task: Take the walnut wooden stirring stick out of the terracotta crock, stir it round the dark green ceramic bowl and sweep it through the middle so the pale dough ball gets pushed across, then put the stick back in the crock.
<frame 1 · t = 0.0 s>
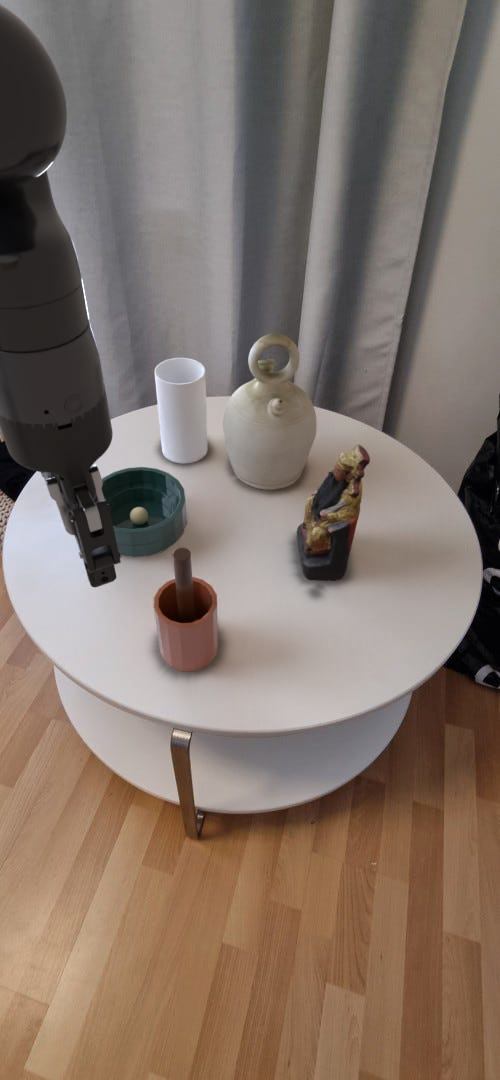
hand: (88, 547, 52), 28 cm above the table, tool pointing down, fingers open, 8 cm apart
crock: (189, 646, 78), on the table
dough ball: (139, 516, 91), point 2 cm above the table, touching bowl
cup: (184, 450, 107), on the table
statue: (321, 562, 89), on the table
bowl: (140, 525, 93), on the table
stick: (189, 644, 78), resting on crock
jug: (266, 468, 104), on the table
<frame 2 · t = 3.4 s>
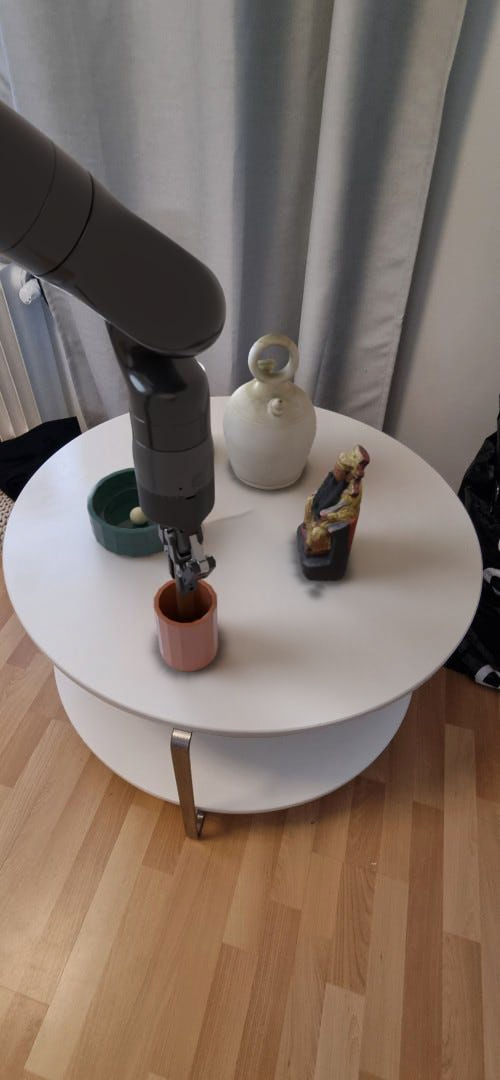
hand: (184, 582, 68), 14 cm above the table, tool pointing down, fingers closed on stick, 2 cm apart
stick: (188, 644, 78), point 1 cm above the table, touching gripper
everything else where it was.
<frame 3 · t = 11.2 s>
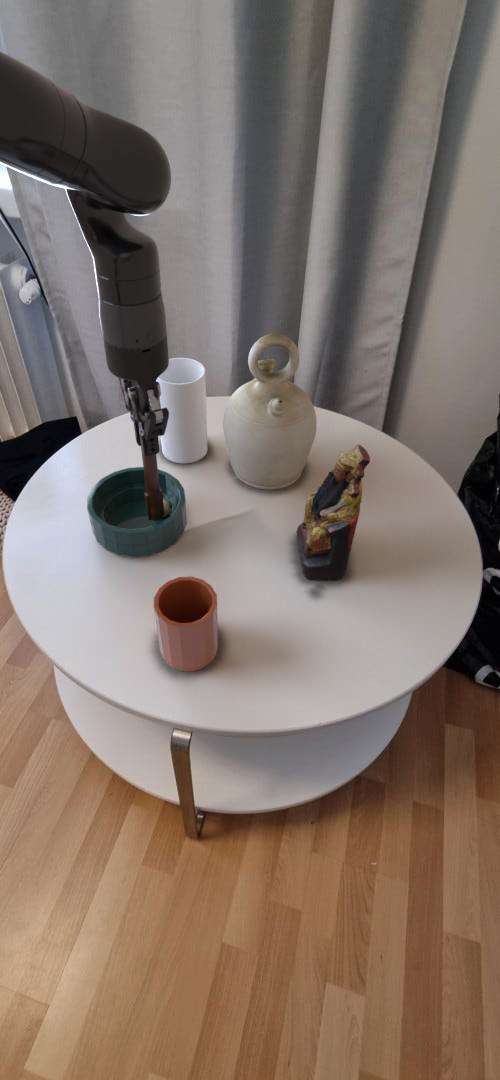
hand: (148, 448, 81), 16 cm above the table, tool pointing down, fingers closed on stick, 2 cm apart
dough ball: (161, 508, 93), point 2 cm above the table, tilted 155°, touching bowl, stick
stick: (155, 516, 91), point 3 cm above the table, touching dough ball, gripper
everything else where it was.
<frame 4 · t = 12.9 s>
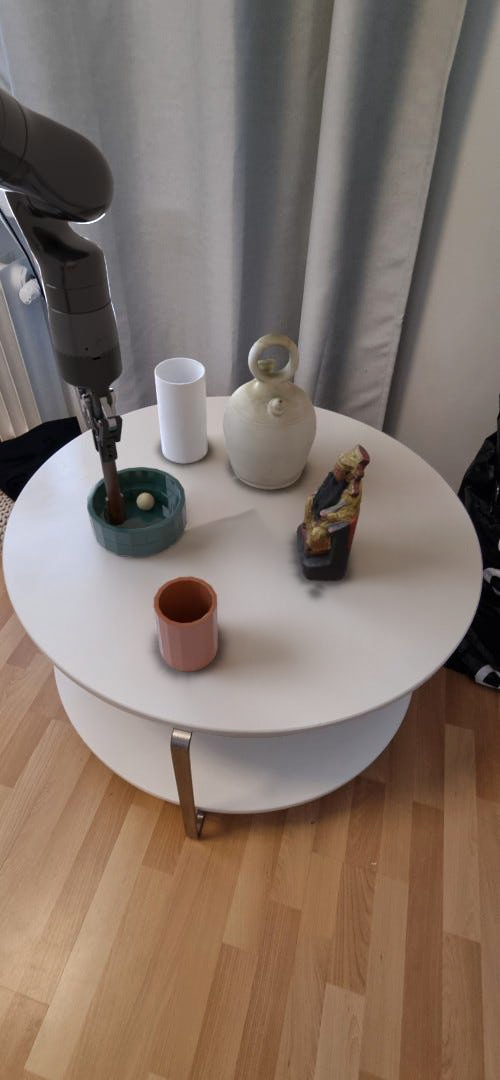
hand: (106, 454, 81), 15 cm above the table, tool pointing down, fingers closed on stick, 2 cm apart
dough ball: (145, 501, 94), point 2 cm above the table, tilted 58°, touching bowl
stick: (118, 520, 91), point 2 cm above the table, touching gripper
everything else where it was.
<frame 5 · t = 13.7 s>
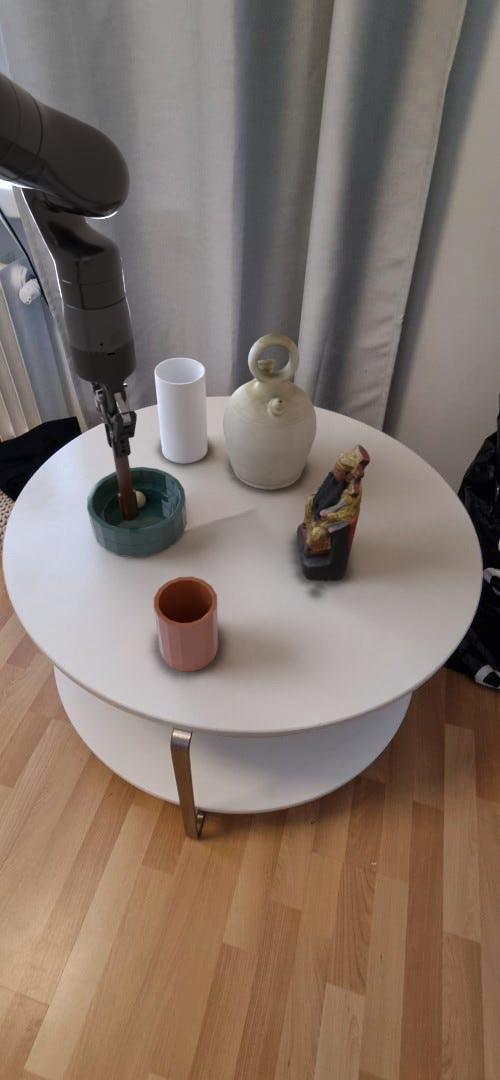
hand: (119, 449, 81), 16 cm above the table, tool pointing down, fingers closed on stick, 2 cm apart
dough ball: (136, 499, 94), point 2 cm above the table, tilted 9°, touching bowl
stick: (130, 516, 91), point 2 cm above the table, touching gripper
everything else where it was.
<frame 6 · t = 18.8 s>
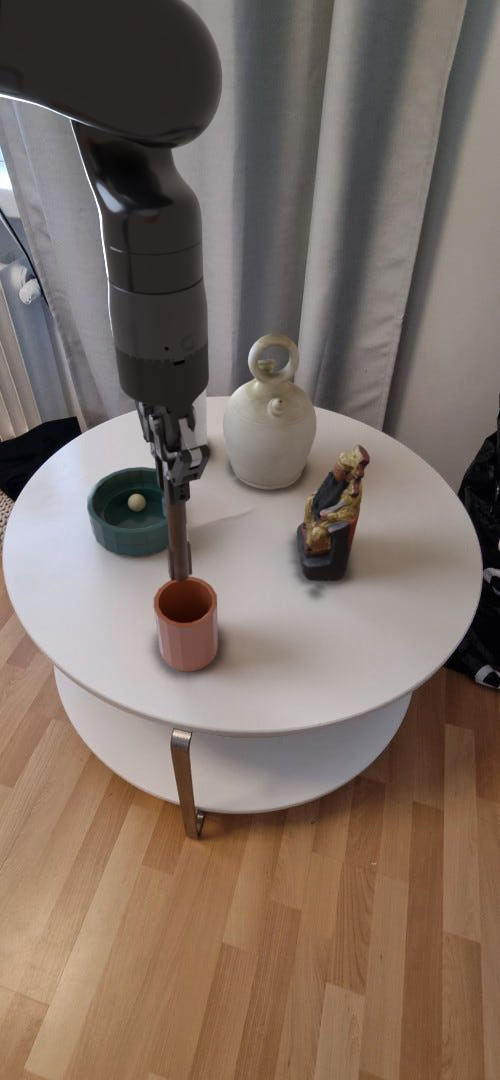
hand: (174, 493, 59), 27 cm above the table, tool pointing down, fingers closed on stick
dough ball: (136, 502, 93), point 2 cm above the table, tilted 35°, touching bowl
stick: (180, 575, 68), point 14 cm above the table, touching gripper
everything else where it was.
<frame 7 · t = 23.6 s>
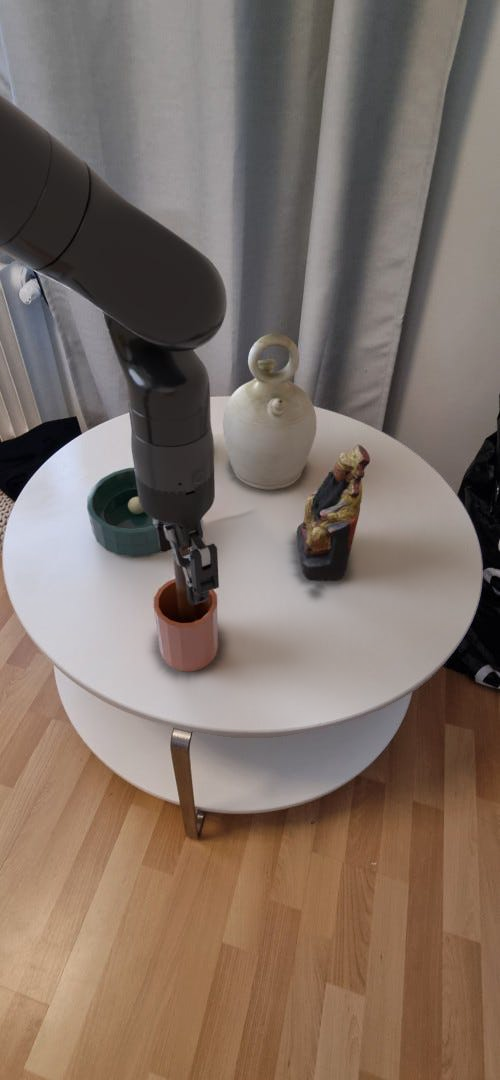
hand: (182, 573, 67), 15 cm above the table, tool pointing down, fingers open, 8 cm apart
dough ball: (136, 505, 93), point 2 cm above the table, tilted 62°, touching bowl
stick: (189, 644, 78), resting on crock
everything else where it was.
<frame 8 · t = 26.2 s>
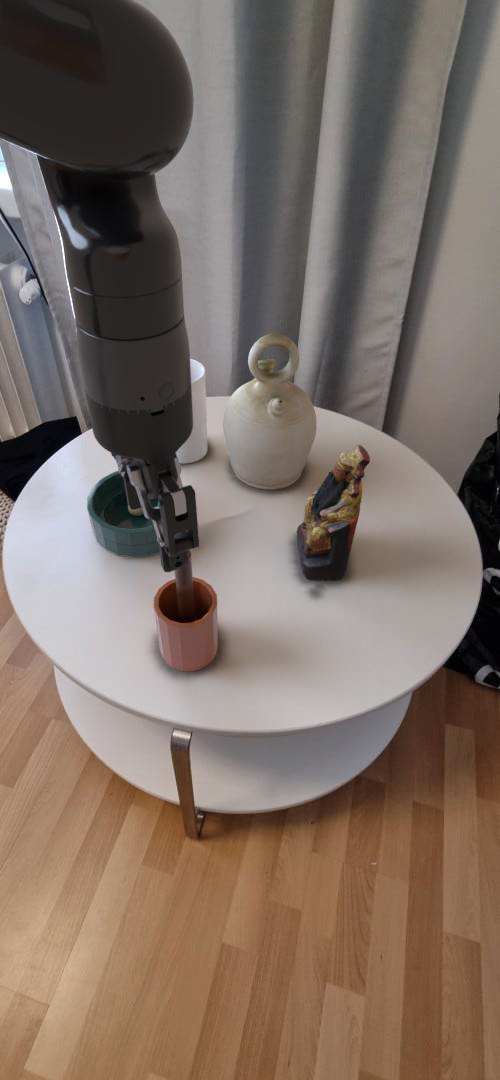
hand: (156, 534, 53), 28 cm above the table, tool pointing down, fingers open, 8 cm apart
dough ball: (137, 507, 93), point 2 cm above the table, tilted 77°, touching bowl
everything else where it was.
at the end: dough ball moved 2.1 cm from its start; dough ball inside the target area in the bowl (2.0 cm from its centre), point 2.2 cm above the bowl's base; stick 0.0 cm off-centre in the crock, point 0.5 cm above the crock's base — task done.
